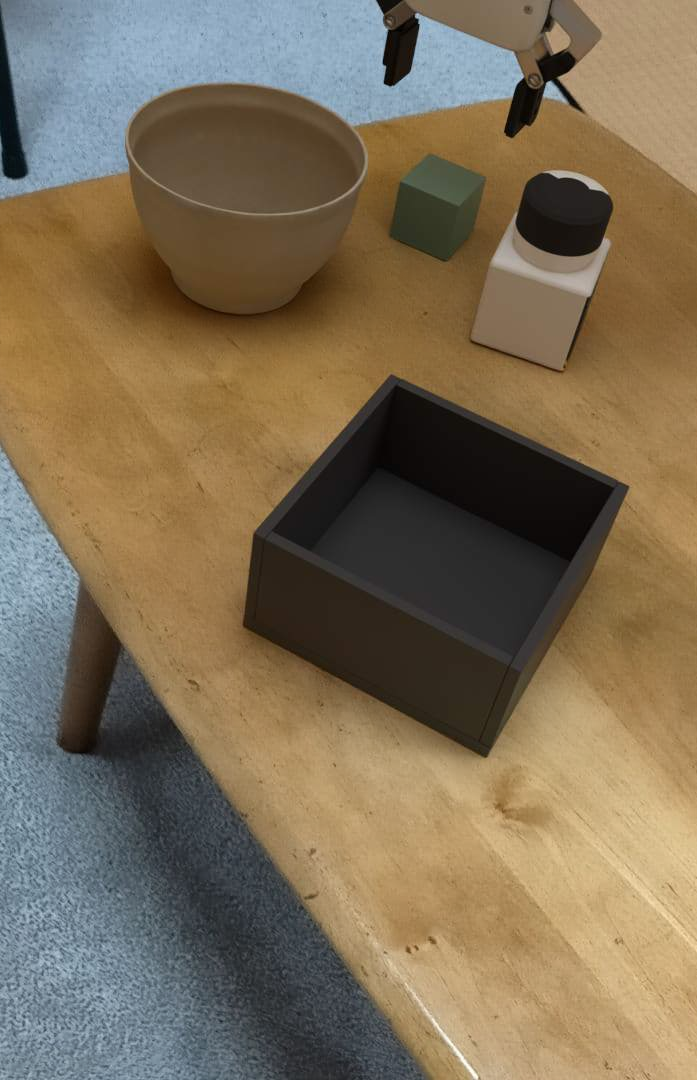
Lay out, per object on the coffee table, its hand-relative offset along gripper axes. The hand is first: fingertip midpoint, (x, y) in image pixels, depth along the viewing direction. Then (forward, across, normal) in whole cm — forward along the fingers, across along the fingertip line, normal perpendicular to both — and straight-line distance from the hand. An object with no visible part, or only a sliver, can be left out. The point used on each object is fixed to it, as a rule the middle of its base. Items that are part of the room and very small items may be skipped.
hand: (455, 103), depth 89 cm
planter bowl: (+11, +8, +14) cm, 20 cm away
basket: (+11, -16, +33) cm, 38 cm away
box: (+11, 0, 0) cm, 11 cm away
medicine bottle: (+11, -12, +6) cm, 17 cm away
